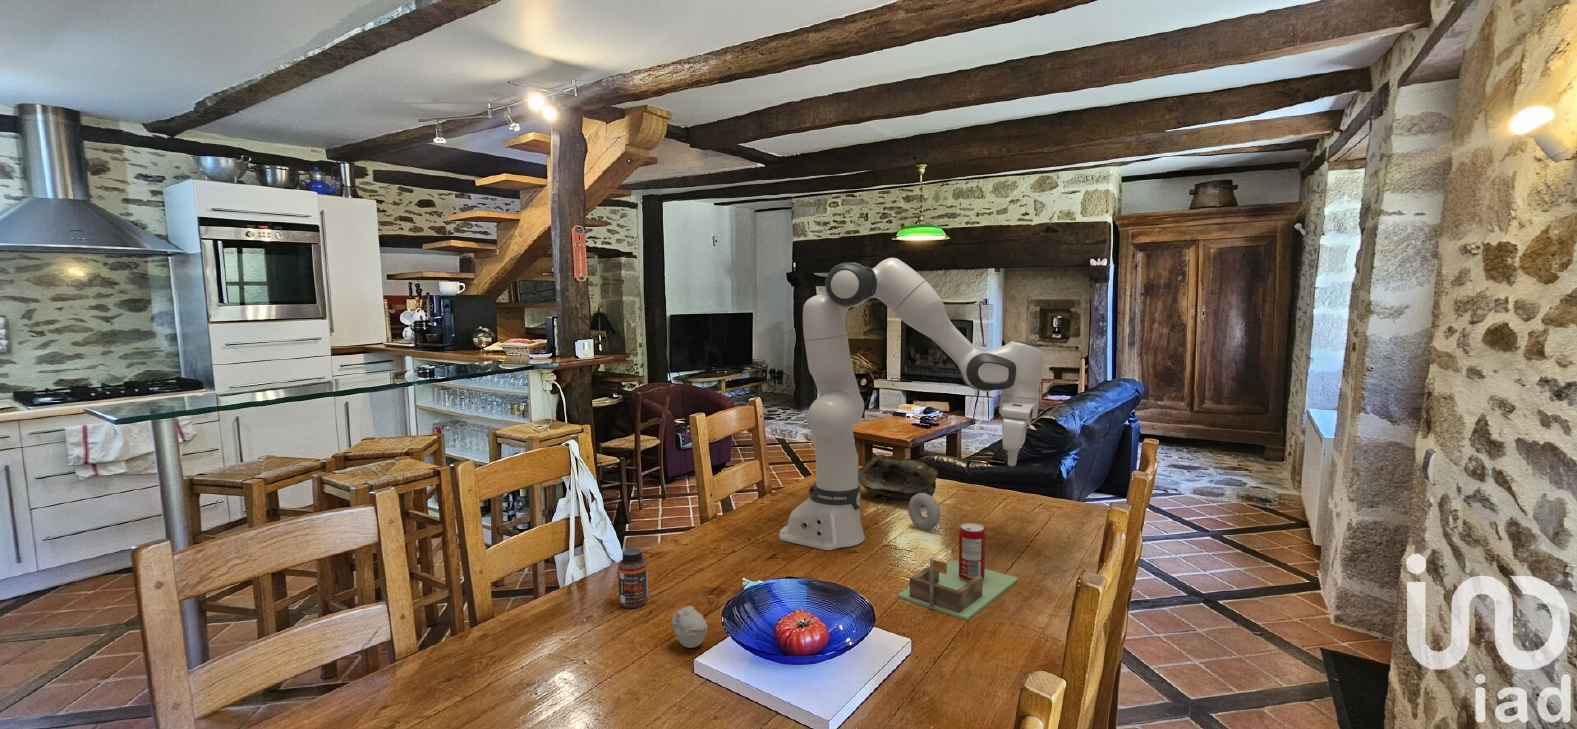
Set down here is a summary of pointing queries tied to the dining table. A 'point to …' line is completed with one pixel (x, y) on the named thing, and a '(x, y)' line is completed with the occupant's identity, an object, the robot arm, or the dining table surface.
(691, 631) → the frog figurine
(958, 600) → the pocket
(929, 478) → the hollow geode rock
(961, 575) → the soda can
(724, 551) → the dining table surface
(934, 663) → the dining table surface
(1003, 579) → the felt mat
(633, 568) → the supplement bottle
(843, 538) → the robot arm
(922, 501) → the donut
